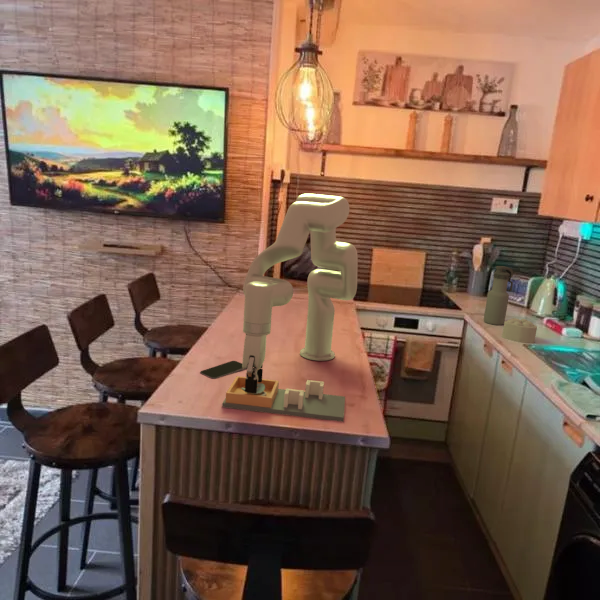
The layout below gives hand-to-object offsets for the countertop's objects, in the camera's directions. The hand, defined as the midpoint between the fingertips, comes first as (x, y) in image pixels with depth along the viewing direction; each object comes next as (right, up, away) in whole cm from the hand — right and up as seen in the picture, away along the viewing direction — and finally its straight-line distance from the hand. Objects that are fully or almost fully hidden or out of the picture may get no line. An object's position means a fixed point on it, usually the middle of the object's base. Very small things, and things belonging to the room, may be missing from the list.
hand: (253, 386), depth 147 cm
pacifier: (0, -3, 0) cm, 3 cm away
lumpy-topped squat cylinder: (+110, +7, +84) cm, 139 cm away
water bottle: (+109, +13, +109) cm, 155 cm away
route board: (+9, -5, 0) cm, 10 cm away
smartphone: (-11, +1, +21) cm, 24 cm away
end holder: (0, -3, +1) cm, 3 cm away
